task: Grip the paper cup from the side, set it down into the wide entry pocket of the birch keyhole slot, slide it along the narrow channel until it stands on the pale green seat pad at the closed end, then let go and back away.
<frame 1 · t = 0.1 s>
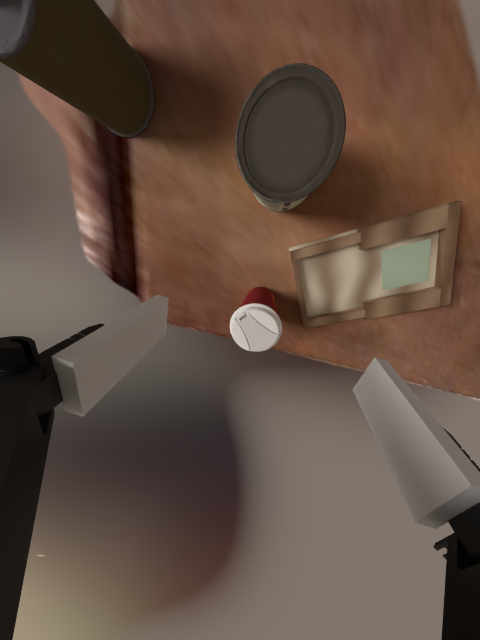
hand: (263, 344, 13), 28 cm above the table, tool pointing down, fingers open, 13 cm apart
seat pad: (403, 265, 34), resting on keyhole slot
coffee can: (282, 175, 32), on the table
canister: (122, 93, 31), on the table
keyhole slot: (364, 274, 36), on the table
paper cup: (260, 299, 41), on the table
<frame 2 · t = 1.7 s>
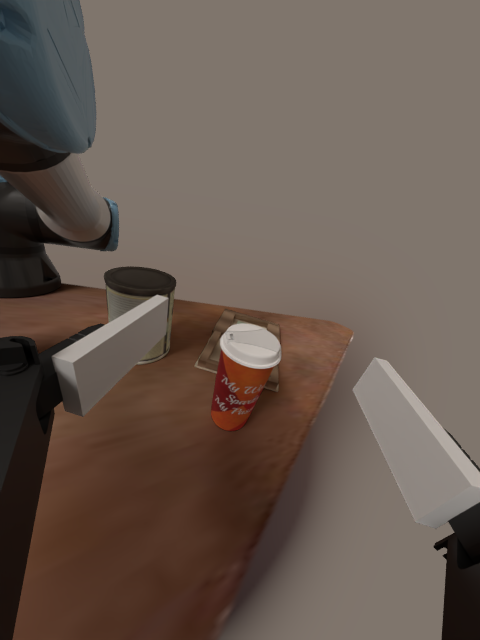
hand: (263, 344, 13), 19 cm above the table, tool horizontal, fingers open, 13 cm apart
coffee can: (141, 347, 38), on the table
keyhole slot: (244, 344, 47), on the table
paper cup: (229, 414, 30), on the table
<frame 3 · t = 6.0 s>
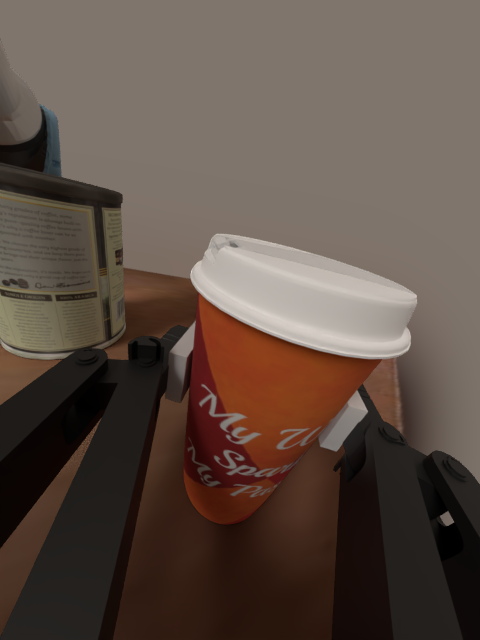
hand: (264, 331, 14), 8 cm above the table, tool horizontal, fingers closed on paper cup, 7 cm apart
coffee can: (71, 331, 22), on the table
paper cup: (226, 469, 13), on the table, touching gripper
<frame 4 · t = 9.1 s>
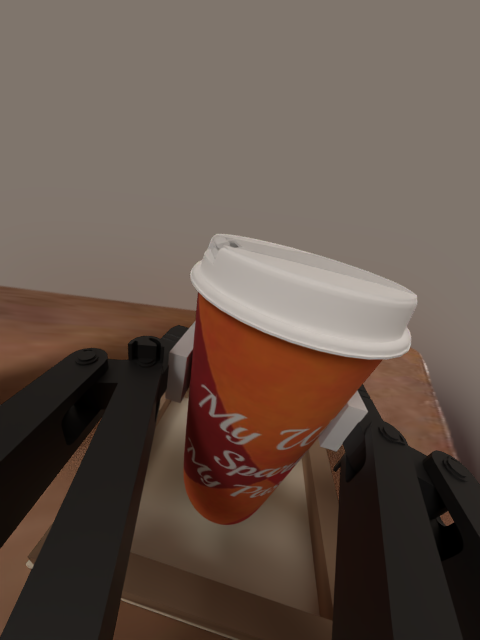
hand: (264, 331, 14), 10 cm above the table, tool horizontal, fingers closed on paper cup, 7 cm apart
keyhole slot: (236, 407, 20), on the table
paper cup: (226, 470, 13), point 2 cm above the table, touching gripper
when the fingers open (10 cm above the table, at t = 12.3 s): paper cup moves 2 cm, point 1 cm above the table.
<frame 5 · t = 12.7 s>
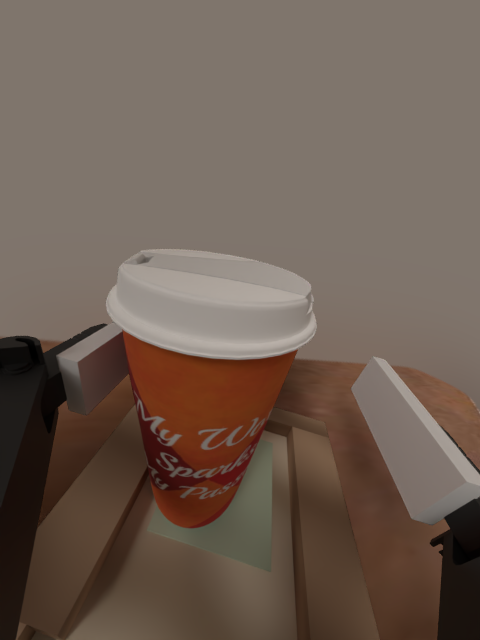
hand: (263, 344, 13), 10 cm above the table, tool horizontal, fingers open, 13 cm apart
seat pad: (221, 481, 14), resting on keyhole slot
keyhole slot: (188, 637, 9), on the table
paper cup: (198, 474, 14), point 1 cm above the table, touching gripper
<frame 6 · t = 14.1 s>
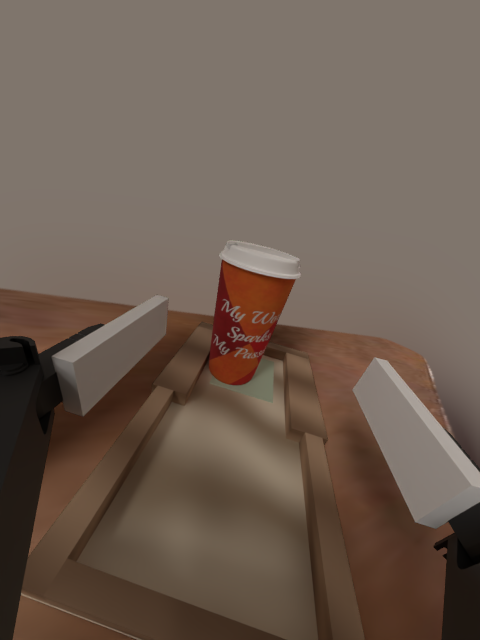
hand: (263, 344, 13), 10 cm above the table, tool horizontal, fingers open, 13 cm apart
seat pad: (244, 374, 25), resting on keyhole slot
keyhole slot: (235, 416, 19), on the table
paper cup: (231, 369, 24), resting on seat pad
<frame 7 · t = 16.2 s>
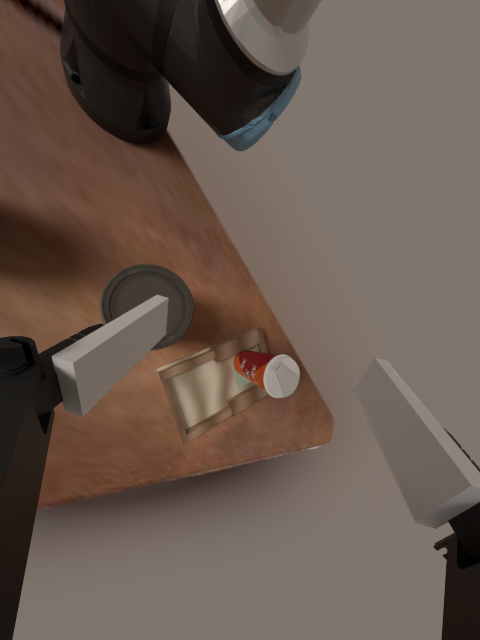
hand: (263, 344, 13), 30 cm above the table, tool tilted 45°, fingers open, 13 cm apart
seat pad: (245, 367, 47), resting on keyhole slot
coffee can: (142, 310, 36), on the table
keyhole slot: (223, 378, 44), on the table
paper cup: (243, 361, 46), resting on seat pad
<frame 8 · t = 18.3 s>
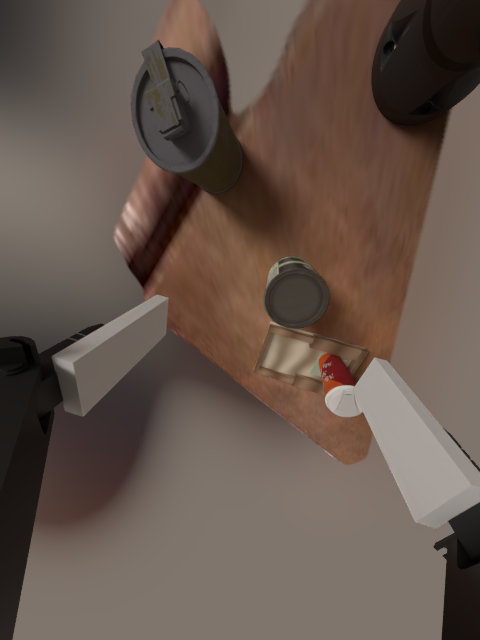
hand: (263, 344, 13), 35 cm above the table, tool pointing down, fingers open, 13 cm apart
seat pad: (327, 365, 53), resting on keyhole slot
coffee can: (289, 279, 45), on the table
canister: (215, 160, 38), on the table
keyhole slot: (305, 359, 53), on the table
paper cup: (329, 361, 52), resting on seat pad
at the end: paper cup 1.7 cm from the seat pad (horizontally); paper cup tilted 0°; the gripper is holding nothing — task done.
